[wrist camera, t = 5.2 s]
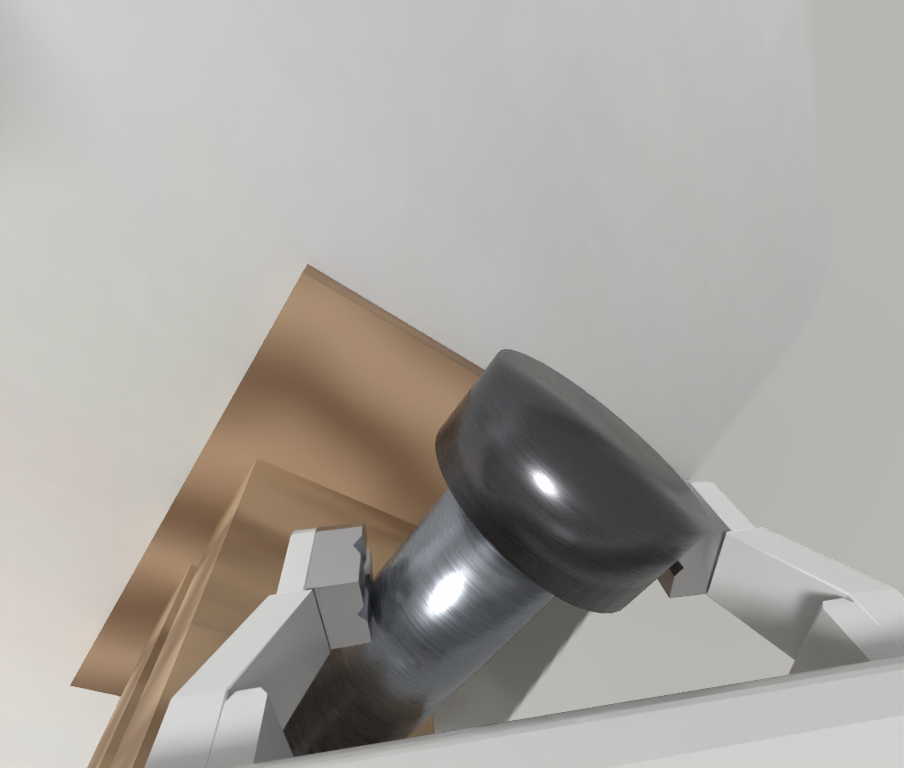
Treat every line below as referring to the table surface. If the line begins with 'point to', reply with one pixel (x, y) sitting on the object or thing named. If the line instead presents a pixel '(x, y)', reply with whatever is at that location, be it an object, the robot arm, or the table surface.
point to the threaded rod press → (278, 493)
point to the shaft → (502, 550)
